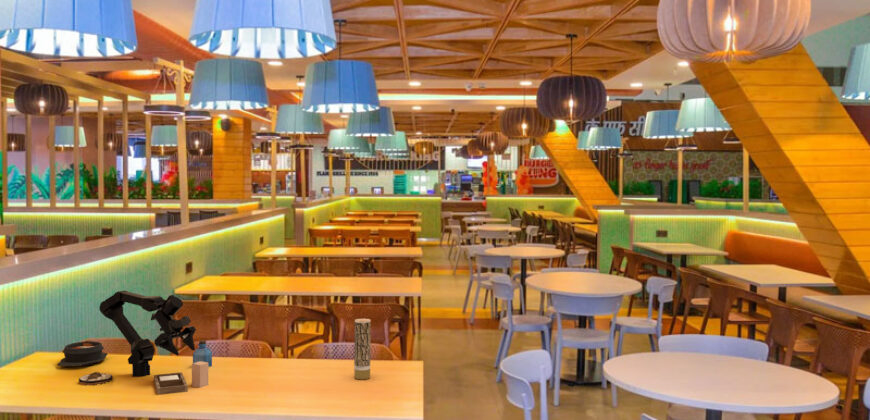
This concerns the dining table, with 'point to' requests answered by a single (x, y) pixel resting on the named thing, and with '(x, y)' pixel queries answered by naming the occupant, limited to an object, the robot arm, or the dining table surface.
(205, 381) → the clay blank
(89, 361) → the casserole
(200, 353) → the perfume bottle
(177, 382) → the rack
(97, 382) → the sushi roll
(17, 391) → the dining table surface
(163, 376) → the napkin stack
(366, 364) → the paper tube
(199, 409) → the dining table surface
